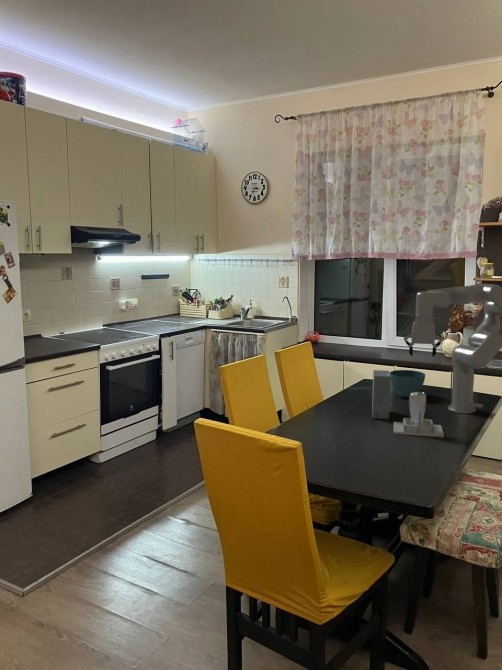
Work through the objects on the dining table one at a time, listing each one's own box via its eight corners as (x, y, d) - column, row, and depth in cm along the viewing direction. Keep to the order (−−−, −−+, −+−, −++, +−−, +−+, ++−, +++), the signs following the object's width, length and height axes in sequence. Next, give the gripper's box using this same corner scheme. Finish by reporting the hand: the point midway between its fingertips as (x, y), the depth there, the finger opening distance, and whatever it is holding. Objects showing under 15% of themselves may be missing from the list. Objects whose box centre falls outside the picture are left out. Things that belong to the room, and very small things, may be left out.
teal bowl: (428, 400, 288) (429, 377, 286) (393, 400, 288) (394, 376, 286) (418, 391, 306) (419, 369, 304) (385, 391, 306) (386, 369, 304)
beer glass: (425, 426, 240) (427, 392, 238) (423, 431, 233) (425, 396, 231) (409, 424, 242) (410, 391, 240) (406, 429, 236) (408, 394, 234)
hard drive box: (389, 419, 253) (390, 376, 250) (372, 418, 255) (373, 376, 252) (387, 410, 268) (389, 370, 266) (371, 409, 270) (372, 369, 267)
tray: (440, 427, 242) (441, 413, 241) (443, 437, 228) (444, 423, 228) (393, 424, 247) (393, 410, 246) (393, 433, 233) (394, 419, 232)
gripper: (443, 318, 255) (441, 355, 258) (404, 317, 259) (402, 353, 262) (444, 320, 248) (442, 358, 250) (404, 319, 252) (403, 356, 255)
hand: (422, 355), depth 256 cm, fingers open, 9 cm apart
